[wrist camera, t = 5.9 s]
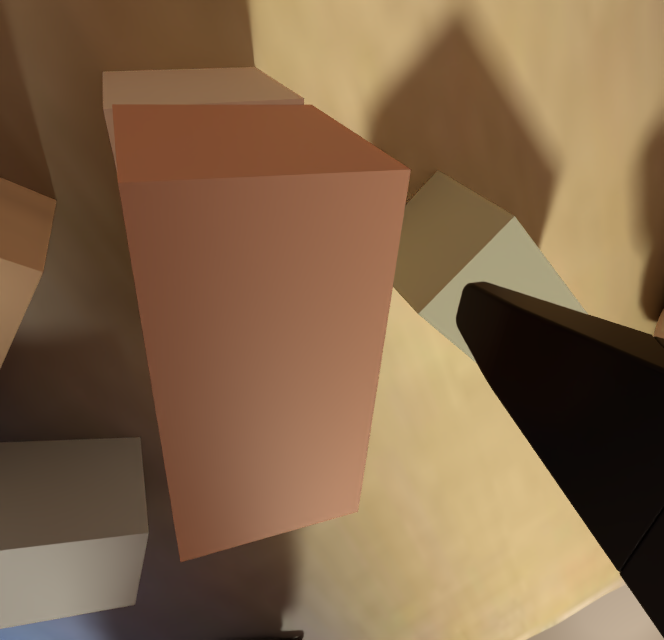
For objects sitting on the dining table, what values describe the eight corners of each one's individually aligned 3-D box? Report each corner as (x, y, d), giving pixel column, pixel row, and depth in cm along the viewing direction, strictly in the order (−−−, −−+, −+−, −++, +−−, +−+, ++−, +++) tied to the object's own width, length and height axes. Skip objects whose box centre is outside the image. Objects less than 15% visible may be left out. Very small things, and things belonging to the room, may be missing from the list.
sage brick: (527, 279, 20) (603, 334, 17) (464, 341, 21) (526, 405, 18) (435, 168, 16) (514, 216, 13) (359, 250, 17) (418, 314, 14)
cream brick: (268, 304, 16) (306, 382, 13) (156, 324, 15) (169, 413, 12) (254, 66, 13) (303, 98, 9) (102, 71, 12) (103, 109, 8)
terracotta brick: (299, 386, 13) (358, 511, 10) (160, 413, 12) (180, 561, 9) (311, 105, 10) (410, 169, 7) (111, 104, 8) (118, 182, 5)
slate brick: (140, 434, 18) (149, 532, 15) (129, 502, 19) (134, 604, 16) (-121, 443, 14) (-181, 572, 11) (-108, 524, 16) (-158, 656, 13)
